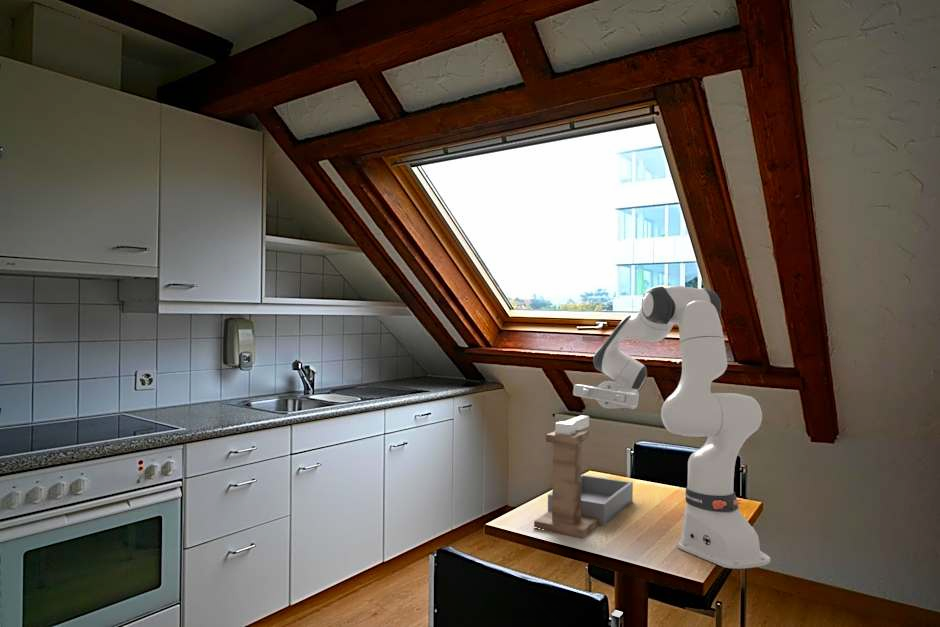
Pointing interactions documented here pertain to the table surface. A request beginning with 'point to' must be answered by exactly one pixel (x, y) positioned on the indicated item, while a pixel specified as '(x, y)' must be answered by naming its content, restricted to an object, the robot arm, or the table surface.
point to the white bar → (571, 425)
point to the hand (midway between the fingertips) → (600, 395)
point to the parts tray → (602, 497)
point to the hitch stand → (567, 488)
